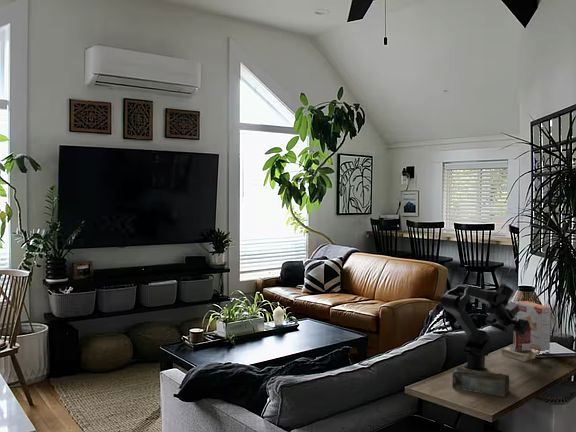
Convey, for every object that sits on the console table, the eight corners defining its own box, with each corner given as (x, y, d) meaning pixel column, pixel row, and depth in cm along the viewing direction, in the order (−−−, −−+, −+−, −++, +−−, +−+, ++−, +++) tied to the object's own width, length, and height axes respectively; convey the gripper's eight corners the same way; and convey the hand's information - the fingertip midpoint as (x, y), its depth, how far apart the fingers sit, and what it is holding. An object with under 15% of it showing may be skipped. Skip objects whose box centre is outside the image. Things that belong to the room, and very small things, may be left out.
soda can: (532, 352, 242) (533, 325, 241) (516, 352, 242) (517, 325, 241) (526, 347, 249) (527, 321, 248) (511, 347, 249) (511, 320, 248)
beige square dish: (523, 361, 239) (523, 355, 239) (501, 354, 248) (501, 348, 248) (539, 357, 244) (539, 351, 244) (517, 350, 254) (518, 344, 254)
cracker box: (515, 346, 260) (517, 301, 259) (525, 344, 263) (526, 300, 261) (539, 355, 248) (541, 308, 246) (549, 353, 250) (551, 306, 248)
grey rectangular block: (456, 381, 216) (456, 364, 215) (509, 391, 206) (510, 373, 206) (451, 388, 209) (452, 371, 208) (506, 398, 199) (507, 380, 199)
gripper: (528, 301, 232) (543, 325, 238) (491, 293, 248) (506, 315, 254) (515, 322, 228) (531, 345, 235) (478, 312, 244) (494, 334, 251)
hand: (515, 334), depth 244 cm, fingers open, 9 cm apart
